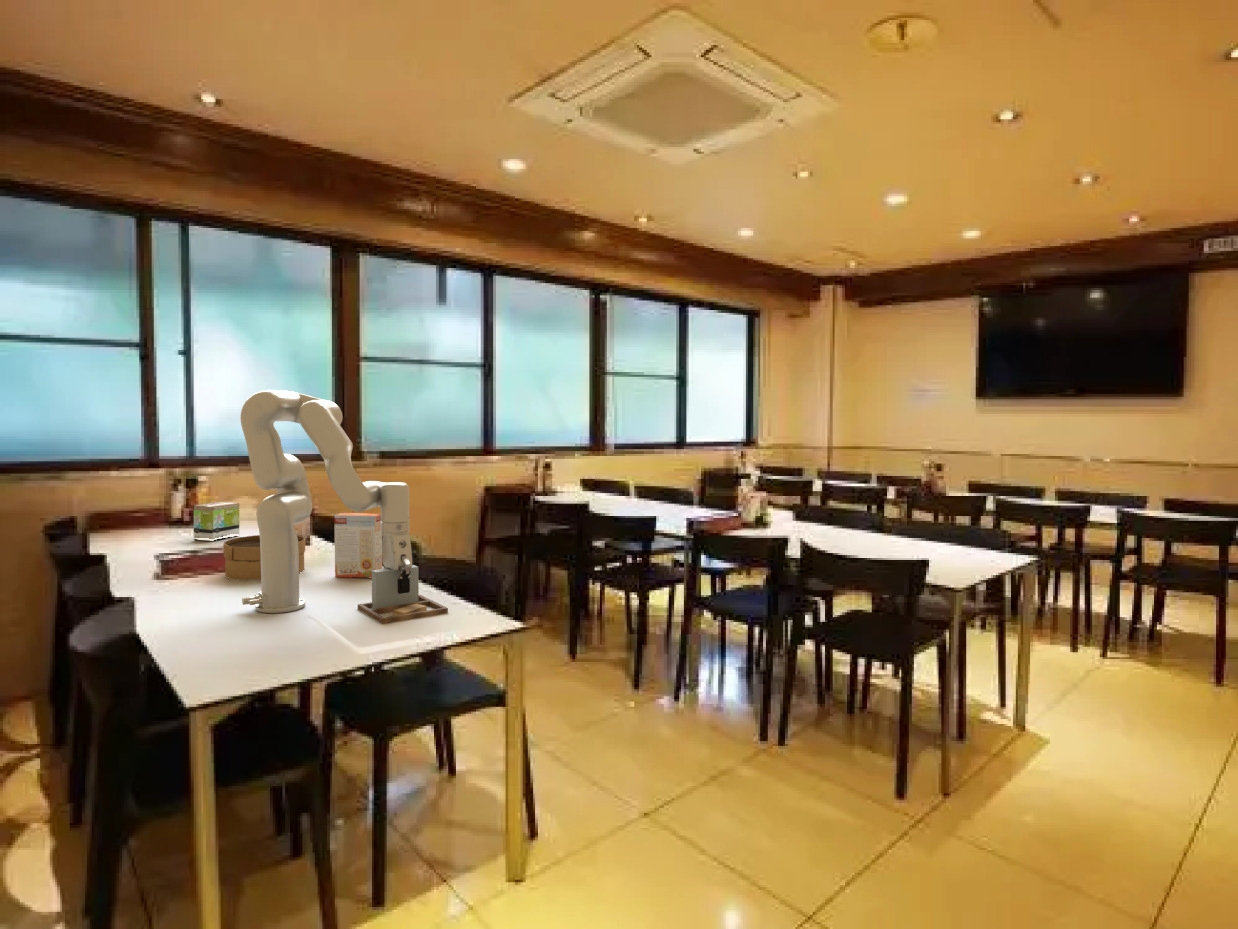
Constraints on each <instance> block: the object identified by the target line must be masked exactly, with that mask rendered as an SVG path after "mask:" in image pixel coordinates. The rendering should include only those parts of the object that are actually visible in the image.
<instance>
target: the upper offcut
mask: <svg viewBox="0 0 1238 929" xmlns="http://www.w3.org/2000/svg"><path fill="white" fill-rule="evenodd" d="M427 607H428V606H424V605H420V604H413V605H410V606H406V607H403V608H399V609H396V610H393V612H392V616H397V615H403V614H409V613H415V612H421V611H427Z"/></svg>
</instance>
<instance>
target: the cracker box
mask: <svg viewBox="0 0 1238 929" xmlns="http://www.w3.org/2000/svg"><path fill="white" fill-rule="evenodd" d="M333 517H334V519H333V520H334V575H335V576H334V577H335V578H352V577H371V578H370V579H372V570H379V569H383V559H382V544H383V534H381V513H366V512H341V513H336V514H334V516H333Z"/></svg>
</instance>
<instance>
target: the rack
mask: <svg viewBox="0 0 1238 929" xmlns="http://www.w3.org/2000/svg"><path fill="white" fill-rule="evenodd" d="M413 604H420V605H424V606H427V607H430V608H433V609H428V610H427V611H421V612H415V613H409V614H403V615H397V616H393V615H392V616H387V617H384V616H383V615H382V614H387V613H393V610H396V609H399V608H403V607H406V606H410V605H413ZM357 610H358V611H360V612H362V613H363V614H365V615H366V616H368V617H370V618H371V619H373V620H375V621H376V622H377V623H380V625H385V624H386V625H387V624H391V623H396V622H403V621H408V620H414V619H421V618H425V617H427V618H428V617H432V616H436V615H437V616H438V615H444V614H448V613H449V608H448V607H447V606H445V605H442V604H441V603H439V602H436V601H434V600H432V599H430V598H428V597H426V596H424V595H422V594H419V602H415V603H408V604H402V605H396V606H389V607H383V608H377V609H372V601H371V602H363V603H358V604H357Z"/></svg>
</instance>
